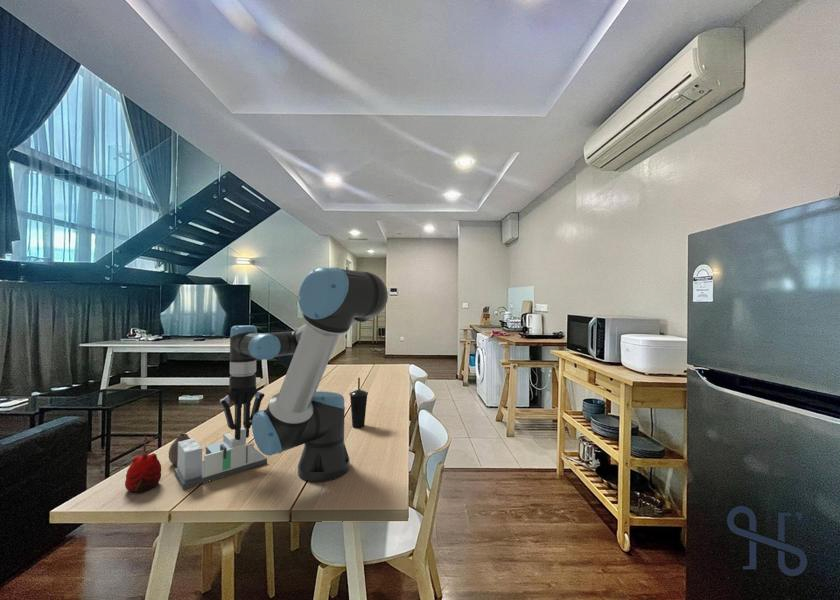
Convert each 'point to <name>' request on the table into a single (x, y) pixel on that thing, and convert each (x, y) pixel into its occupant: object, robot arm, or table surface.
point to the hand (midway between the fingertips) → (241, 449)
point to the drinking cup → (358, 406)
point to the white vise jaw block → (189, 459)
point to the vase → (176, 448)
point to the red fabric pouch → (143, 472)
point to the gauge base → (225, 464)
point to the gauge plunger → (222, 445)
